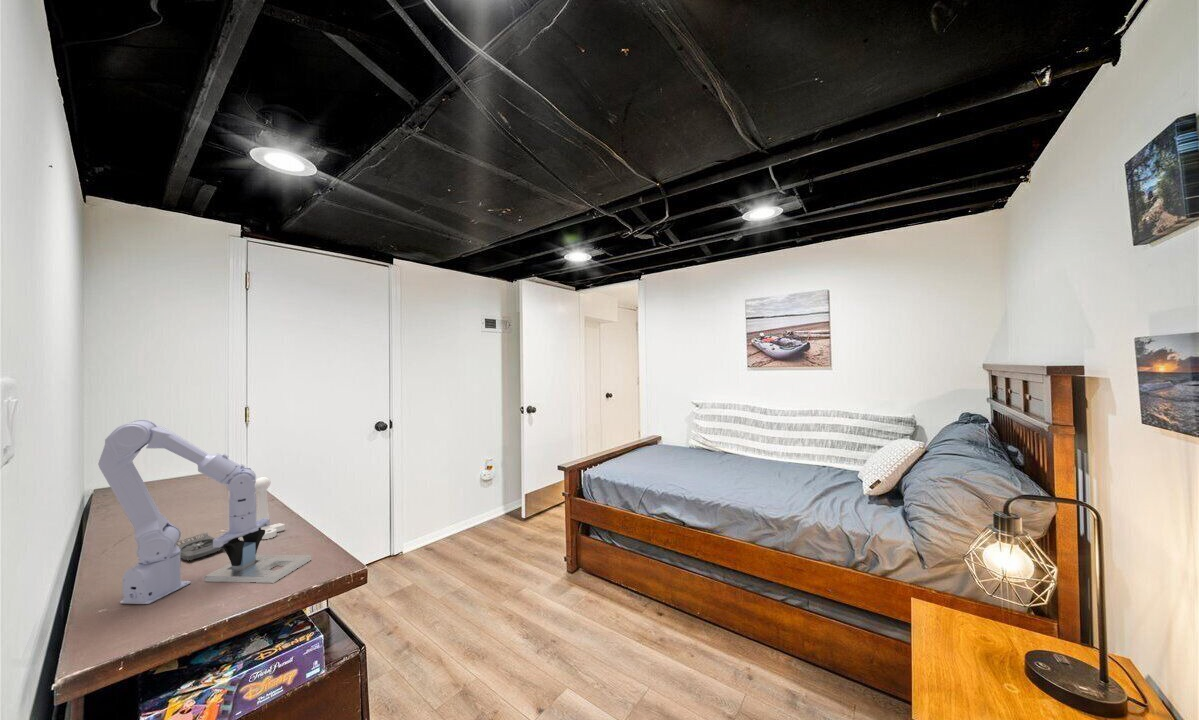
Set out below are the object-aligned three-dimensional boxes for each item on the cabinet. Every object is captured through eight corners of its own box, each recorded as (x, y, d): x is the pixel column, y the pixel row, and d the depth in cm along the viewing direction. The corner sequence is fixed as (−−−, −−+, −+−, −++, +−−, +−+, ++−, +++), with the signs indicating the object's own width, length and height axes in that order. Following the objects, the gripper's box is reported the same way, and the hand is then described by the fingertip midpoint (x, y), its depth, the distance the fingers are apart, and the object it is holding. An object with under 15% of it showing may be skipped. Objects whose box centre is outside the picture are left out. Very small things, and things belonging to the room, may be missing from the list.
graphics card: (155, 546, 121) (207, 530, 132) (155, 558, 122) (208, 542, 132) (175, 558, 113) (229, 540, 124) (175, 571, 113) (230, 552, 124)
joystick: (277, 529, 140) (276, 472, 140) (290, 531, 137) (289, 474, 138) (239, 542, 130) (238, 481, 130) (252, 545, 127) (251, 483, 127)
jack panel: (273, 583, 104) (273, 577, 104) (204, 581, 106) (204, 575, 106) (310, 560, 116) (310, 555, 116) (248, 559, 118) (248, 554, 118)
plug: (243, 573, 110) (243, 548, 110) (231, 573, 110) (231, 548, 110) (255, 567, 113) (255, 542, 113) (244, 566, 113) (243, 542, 114)
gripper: (229, 523, 104) (230, 575, 104) (278, 503, 118) (279, 549, 118) (205, 523, 105) (206, 575, 105) (257, 503, 119) (258, 549, 119)
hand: (243, 561), depth 111 cm, fingers closed on plug, 4 cm apart
